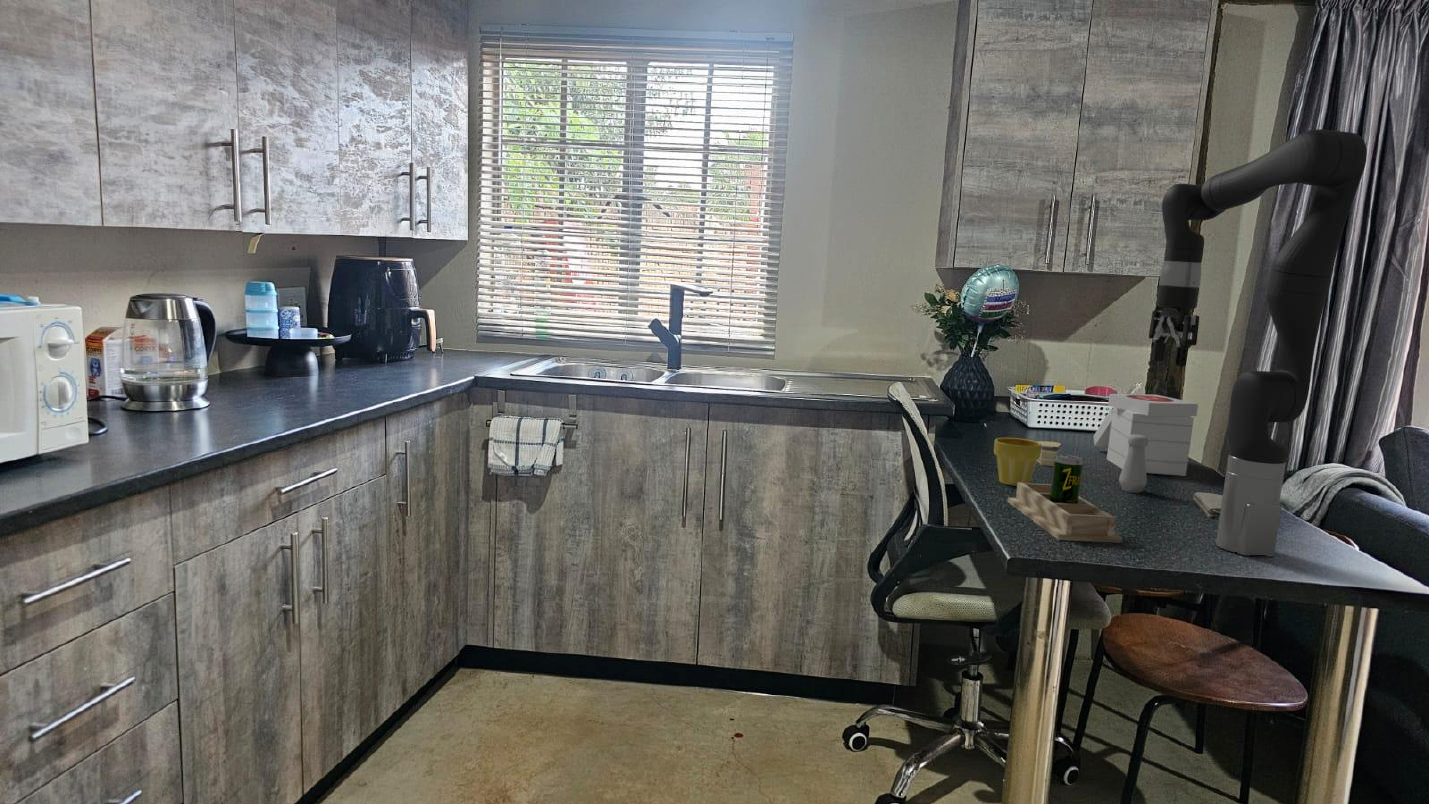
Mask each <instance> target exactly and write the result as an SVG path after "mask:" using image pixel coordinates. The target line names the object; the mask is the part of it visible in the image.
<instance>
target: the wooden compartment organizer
mask: <svg viewBox="0 0 1429 804" xmlns="http://www.w3.org/2000/svg"><path fill="white" fill-rule="evenodd" d="M1050 490H1051V483H1049V484H1048V483H1034V482H1032V483H1031V482H1030V483H1022V482H1018V483H1017V486H1016V492H1015V497H1007V503H1008V504H1009V503H1010V506H1012V507H1013V508H1014V509H1016V510H1018V511H1019V512H1020V511H1021V512H1020V513H1022V514H1023V515H1024V516H1026V517H1027V518H1029V520H1031V521H1032V520H1033V521H1032V522H1034V523H1035V524H1036V525H1038V526H1039V527H1040V528H1042V529H1043V530H1044V531H1046V532H1047V533H1048V534H1049V535H1051V536H1052V537H1053V538H1055V539H1056V540H1058V541H1076V542H1077V541H1078V542H1094V543H1095V542H1099V543H1100V542H1101V543H1116V544H1118V543H1119V544H1120V543H1122V542H1123V536H1121V535H1119V534H1118V533H1116V532H1115V526H1116V519H1117V518H1116V517H1115V516H1113V515H1111V514H1110V513H1108V512H1106V511H1104V510H1103V509H1101V508H1100V507H1098V506H1097V505H1095V504H1093V503H1091V502H1089V501H1088V500H1086V499H1085V498H1083V497H1081V496H1080V495H1079V500H1078V504H1070V503H1053V502H1051V501H1050V500H1049V498H1050Z"/></svg>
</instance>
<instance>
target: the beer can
mask: <svg viewBox="0 0 1429 804" xmlns="http://www.w3.org/2000/svg"><path fill="white" fill-rule="evenodd" d="M1083 468H1084V462H1083V457H1081V456H1078V455H1074V454H1066V453H1063V454H1062V453H1060V454H1059V453H1058V455H1056V458H1055V460H1054V465H1053V466H1052V476H1051V483H1050V484H1051V490H1050V498H1049V500H1050V501H1051V502H1053V503H1070V504H1078V500H1079V496H1080V490H1081V485H1082V477H1083V476H1082V475H1083V474H1082V473H1083Z"/></svg>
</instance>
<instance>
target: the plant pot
mask: <svg viewBox="0 0 1429 804" xmlns="http://www.w3.org/2000/svg"><path fill="white" fill-rule="evenodd" d="M993 445H994V447H993V454H994V455H995V456H996V462H997V465H996V466H997V473H998V480H999V483H1001V484H1004V485H1008V486H1014V487H1017V483H1018V482H1022V483H1031V480H1032V477H1033V474H1034V470H1035V467H1036V464H1037V462H1036V461H1037V459H1039V458H1040V455H1041V446H1042V445H1041V443H1039V442H1037V441H1035V440H1031V439H1025V438H1018V437H998V438H995V439H994V444H993Z"/></svg>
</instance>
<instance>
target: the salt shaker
mask: <svg viewBox="0 0 1429 804" xmlns="http://www.w3.org/2000/svg"><path fill="white" fill-rule="evenodd" d="M1128 444H1129V445H1131V446H1130V449H1129V452H1128V454H1127V457H1126V460H1125V463H1124V466H1123V469H1121V472H1120V475H1119V478H1118V480H1119V484H1120V487H1121V490H1122V491H1124V492H1127V493H1132V494H1133V493H1134V494H1139V493H1142V492H1143V491H1144V488H1145V487H1146V485H1147V482H1148V479H1147V473H1146V461H1145V447H1146V446H1147V445H1148V438H1147V437H1146V436H1143V435H1136V434H1134V435H1130V436H1129V437H1128Z"/></svg>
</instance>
